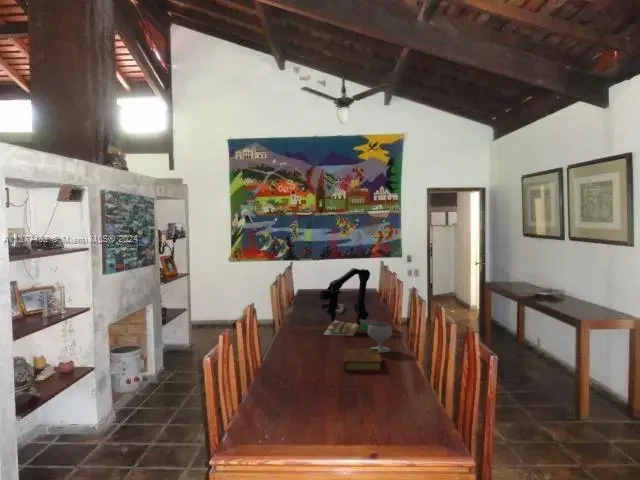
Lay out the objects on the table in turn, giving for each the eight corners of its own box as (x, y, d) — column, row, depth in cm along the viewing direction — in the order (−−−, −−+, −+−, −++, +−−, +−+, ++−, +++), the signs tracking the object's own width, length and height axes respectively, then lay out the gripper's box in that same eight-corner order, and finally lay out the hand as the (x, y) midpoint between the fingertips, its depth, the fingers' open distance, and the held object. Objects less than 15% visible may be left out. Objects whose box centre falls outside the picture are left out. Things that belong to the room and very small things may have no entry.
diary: (343, 359, 259) (343, 348, 259) (377, 359, 258) (377, 348, 258) (343, 372, 236) (343, 360, 236) (381, 372, 235) (381, 360, 235)
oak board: (357, 326, 333) (357, 323, 333) (352, 334, 310) (352, 331, 310) (346, 325, 335) (346, 323, 335) (341, 333, 311) (341, 330, 311)
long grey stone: (331, 316, 378) (343, 317, 377) (331, 310, 377) (343, 310, 376) (334, 306, 413) (345, 306, 412) (334, 300, 412) (345, 300, 411)
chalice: (393, 347, 277) (393, 322, 277) (390, 354, 264) (390, 327, 263) (369, 346, 281) (369, 321, 281) (365, 352, 268) (365, 326, 267)
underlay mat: (358, 325, 336) (358, 325, 336) (353, 336, 307) (353, 335, 307) (331, 325, 340) (331, 324, 340) (323, 335, 311) (323, 334, 311)
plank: (344, 325, 335) (344, 322, 335) (339, 333, 312) (339, 330, 311) (333, 322, 336) (333, 319, 336) (327, 330, 313) (328, 327, 313)
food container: (356, 334, 311) (356, 319, 311) (360, 332, 317) (359, 317, 316) (374, 336, 305) (373, 320, 305) (377, 334, 311) (377, 319, 310)
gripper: (325, 296, 340) (324, 318, 341) (320, 300, 322) (318, 323, 323) (340, 298, 338) (339, 319, 339) (336, 302, 320) (334, 325, 321)
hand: (332, 321), depth 330 cm, fingers closed, pressing on plank
